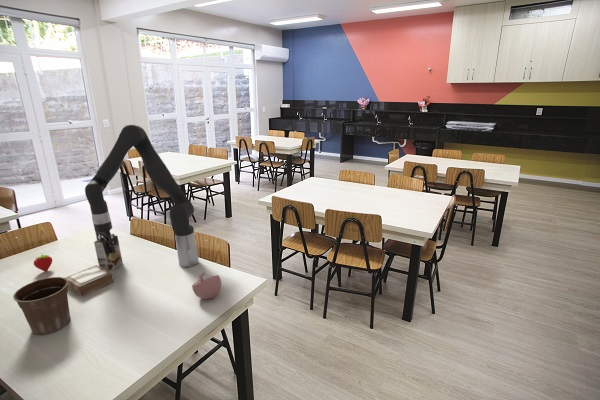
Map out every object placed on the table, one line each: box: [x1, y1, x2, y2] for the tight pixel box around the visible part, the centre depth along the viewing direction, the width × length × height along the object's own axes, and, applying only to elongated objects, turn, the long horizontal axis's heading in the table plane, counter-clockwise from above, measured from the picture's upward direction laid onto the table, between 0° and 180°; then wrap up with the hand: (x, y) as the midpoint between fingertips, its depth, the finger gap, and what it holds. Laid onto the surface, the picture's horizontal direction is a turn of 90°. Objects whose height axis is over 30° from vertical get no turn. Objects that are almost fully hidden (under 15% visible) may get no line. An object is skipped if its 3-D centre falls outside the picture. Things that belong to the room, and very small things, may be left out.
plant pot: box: [12, 276, 71, 336], centre depth 124 cm, size 16×16×16 cm
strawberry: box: [33, 253, 53, 272], centre depth 164 cm, size 6×8×10 cm
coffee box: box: [93, 235, 123, 273], centre depth 165 cm, size 9×6×16 cm
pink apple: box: [191, 271, 222, 300], centre depth 140 cm, size 12×12×11 cm
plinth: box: [64, 264, 115, 298], centre depth 152 cm, size 14×14×5 cm
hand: (108, 250), depth 165 cm, fingers closed on coffee box, 8 cm apart
